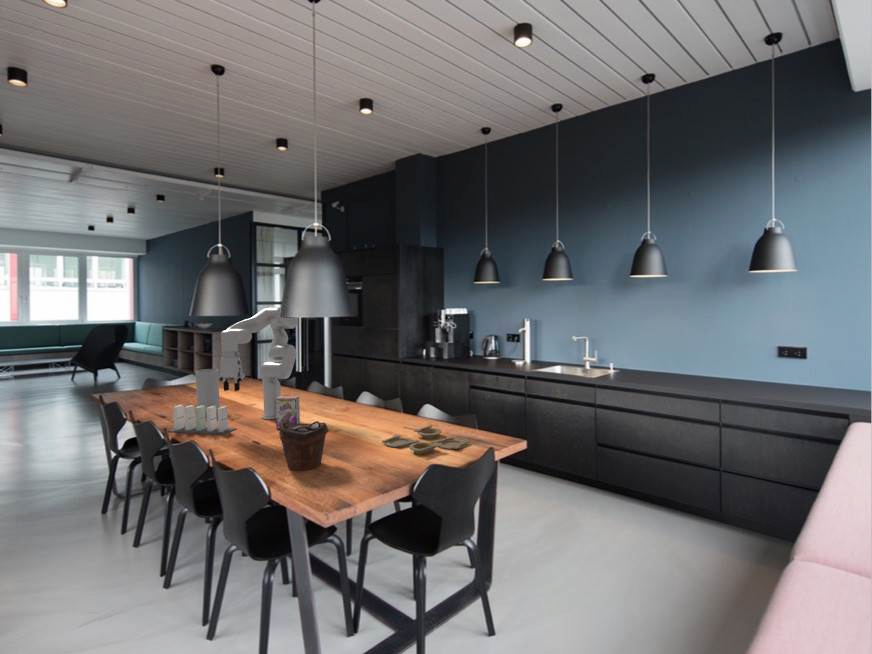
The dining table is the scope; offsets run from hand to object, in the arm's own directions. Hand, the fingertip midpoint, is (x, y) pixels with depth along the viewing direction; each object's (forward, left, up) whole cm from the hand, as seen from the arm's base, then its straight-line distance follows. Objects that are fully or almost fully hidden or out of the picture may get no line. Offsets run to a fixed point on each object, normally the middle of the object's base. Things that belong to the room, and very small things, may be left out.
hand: (231, 390), depth 251 cm
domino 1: (+32, 0, -21) cm, 38 cm away
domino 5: (+6, 0, -21) cm, 22 cm away
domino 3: (+19, 0, -21) cm, 28 cm away
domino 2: (+26, 0, -21) cm, 33 cm away
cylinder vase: (+45, -40, -22) cm, 64 cm away
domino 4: (+13, 0, -21) cm, 24 cm away
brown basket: (-61, +41, -22) cm, 77 cm away
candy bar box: (-25, -10, -22) cm, 35 cm away
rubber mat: (+19, 0, -21) cm, 28 cm away
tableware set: (-102, +6, -22) cm, 105 cm away
